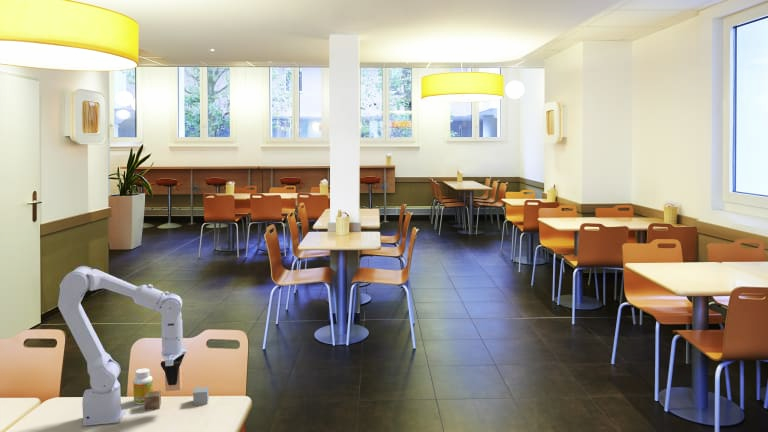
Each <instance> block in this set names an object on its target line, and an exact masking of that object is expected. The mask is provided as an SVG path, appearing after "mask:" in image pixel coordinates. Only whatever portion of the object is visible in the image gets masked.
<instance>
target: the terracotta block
mask: <svg viewBox="0 0 768 432" xmlns="http://www.w3.org/2000/svg"><path fill="white" fill-rule="evenodd" d="M182 373H183V371H182V364H181V365H180V367H179V371H178V379H177V383H176V385H168V382H167V378H166V374H165V373H164V380H165V381H164V383H165V384H164V385H165V392H174V391H175V392H176V391H181V389H182V386H183V375H182Z"/></svg>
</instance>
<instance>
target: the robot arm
mask: <svg viewBox="0 0 768 432" xmlns="http://www.w3.org/2000/svg"><path fill="white" fill-rule="evenodd" d="M99 289H106V290H108V291H112V292H114V293H117V294H121V295H123V296H127V297H131V298H132V300H133V302H134V303H135V304H136V305H139V306H141V307H144V308H146V309H149V310H152V311H155V312H159V314H161V356H162V358H163V359H164V360H162V361H160V367H161V368H162V370H163V371H164V375H165V374H166V378H167V382H168V385H176V383H177V379H178V371H179V367H180V365H181V366H182V363H183V359H184V358H185V354H187V353H188V349H187V348H184V336H183V335H184V334H183V331H184V330H183V319H182V318H183V314H182V307H183V299H182V298H181V296H179V295H178V294H176V293H175V292H174V293H173V292H171V293H170V291H167V290H166V291H162V290H160V289H157V288H155V287H154V285H153V284H150V283H149V284H148V285H146V284H141V285H135V284H132V283H130V282H127V281H126V280H123V279H121V278H118V277H116V276H114V275H111V274H109V273H106V272H104V271H102V270H100V269H97V268H93V269H92V267H89V266H86V265H80V266H78V267H76V268H75V269H74V270H72V271H70V272H68V273H67V274H66V275H65V276H64V277H63V279H62V281H61V282H60V284H59V296H58V300H57V301H58V302H57V307H58V309H59V312H60V313H61V315H62V317H63V320H64V321H65V323H66V325H67V327H68V329H69V330H70V332H71V334H72V336H73V338H74V340H75V342H76V344H77V346H78V348H79V350H80V352H81V353H82V355H83V357H84V359H85V361H86V365H87V368H86V369H87V374H88V375H89V383H90V385H89V386H90V388H89V389H85V390H84V392H83V394H82V395H83V396H82V405H81V406H82V421H83V422H82V427H83V426H84V427H86V426H96V425H108V424H118V423H120V421H121V420H122V419H123V416H124V415H125V413H126V409H122V398H121V393H122V392H121V383H120V382H119V380H118V378H119V376H120V374H121V366H120V364H119V363H118V362H117V361H115V360H114V359H113V358H112V356H111V354H109V353H108V352H107V351H106V350H105V349H104V347H103V344H102V343H101V341H100V339H99V337H98V334H97V333H96V331H95V330H94V326H92V323H91V322H90V319H89V317H88V316H87V314H86V312H85V309H84V308H83V306H82V304H81V302H82V301H83V298H84V296H85V294H86V292H87V291H88V290H89V291H90V292H91V291H96V290H99Z"/></svg>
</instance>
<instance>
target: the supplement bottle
mask: <svg viewBox="0 0 768 432" xmlns="http://www.w3.org/2000/svg"><path fill="white" fill-rule="evenodd" d="M150 373H151V370H150V369H149V368H148V367H147V368H138V369H136V370H135V373H134V374H135V377H134V379H133V381H132V383H133V403H134V404H136V405H145V395H146V392H154V390H153V389H154V387H153V386H154V384H153V376H151V374H150Z"/></svg>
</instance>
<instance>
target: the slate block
mask: <svg viewBox="0 0 768 432" xmlns="http://www.w3.org/2000/svg"><path fill="white" fill-rule="evenodd" d="M192 396H193V406H202V405H208V403H209V386H198V387H194V389H193V394H192Z"/></svg>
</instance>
